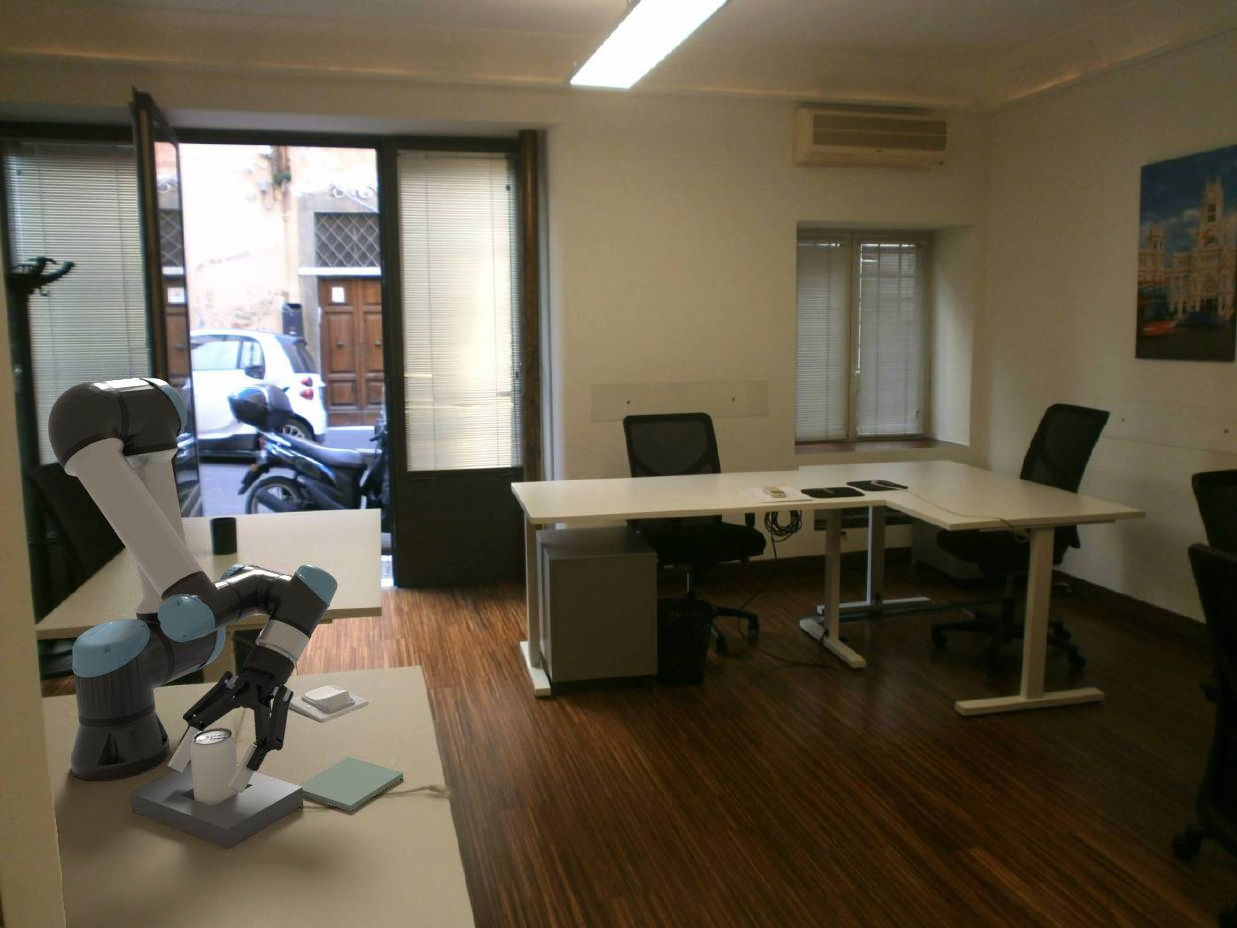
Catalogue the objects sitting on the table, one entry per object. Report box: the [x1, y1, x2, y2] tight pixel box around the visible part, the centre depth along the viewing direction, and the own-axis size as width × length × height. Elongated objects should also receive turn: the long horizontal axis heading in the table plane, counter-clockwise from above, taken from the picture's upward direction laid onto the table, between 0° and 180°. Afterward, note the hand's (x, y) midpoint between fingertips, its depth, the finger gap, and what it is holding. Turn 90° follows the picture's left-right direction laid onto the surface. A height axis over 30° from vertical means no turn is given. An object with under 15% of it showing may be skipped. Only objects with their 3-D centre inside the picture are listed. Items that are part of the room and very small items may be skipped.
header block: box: [129, 763, 304, 849], centre depth 150 cm, size 22×14×3 cm, turn 61°
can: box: [190, 727, 239, 807], centre depth 149 cm, size 6×6×12 cm
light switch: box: [289, 683, 370, 723], centre depth 189 cm, size 11×4×13 cm
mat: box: [298, 756, 404, 813], centre depth 157 cm, size 12×12×1 cm
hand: (204, 779), depth 147 cm, fingers open, 13 cm apart
